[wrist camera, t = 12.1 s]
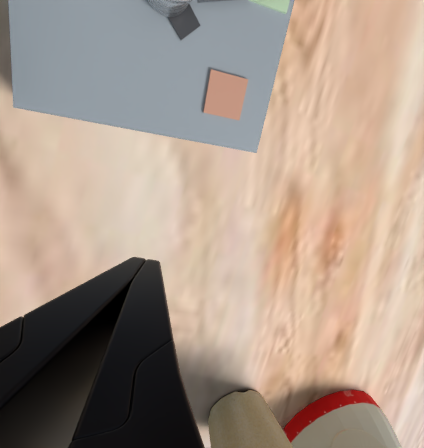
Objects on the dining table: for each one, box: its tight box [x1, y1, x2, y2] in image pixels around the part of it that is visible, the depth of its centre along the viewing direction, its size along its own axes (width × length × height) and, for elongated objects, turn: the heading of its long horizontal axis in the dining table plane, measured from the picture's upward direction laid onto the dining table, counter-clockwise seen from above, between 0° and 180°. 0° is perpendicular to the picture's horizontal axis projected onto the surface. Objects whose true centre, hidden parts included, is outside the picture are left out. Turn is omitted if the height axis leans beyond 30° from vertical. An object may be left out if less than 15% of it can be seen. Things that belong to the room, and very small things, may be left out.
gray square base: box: [8, 0, 294, 153], centre depth 13 cm, size 12×12×3 cm
